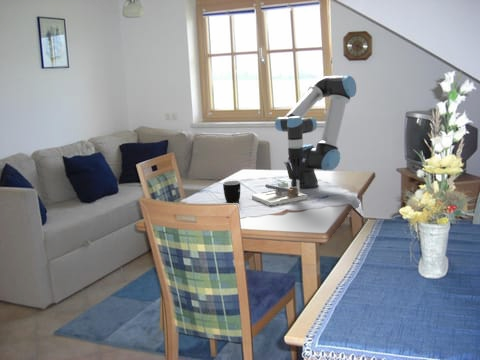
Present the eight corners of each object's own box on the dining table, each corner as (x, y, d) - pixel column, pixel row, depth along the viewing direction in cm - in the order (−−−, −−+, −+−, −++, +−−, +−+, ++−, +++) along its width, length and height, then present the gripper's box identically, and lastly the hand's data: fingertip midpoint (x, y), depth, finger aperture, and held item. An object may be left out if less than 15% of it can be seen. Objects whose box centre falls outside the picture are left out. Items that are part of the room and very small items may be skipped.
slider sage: (284, 188, 306) (283, 180, 305) (288, 190, 302) (288, 181, 301) (278, 190, 304) (277, 181, 303) (282, 191, 300) (281, 183, 299)
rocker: (287, 190, 299) (287, 187, 299) (290, 192, 296) (291, 188, 295) (265, 187, 292) (265, 183, 292) (268, 188, 289) (269, 184, 288)
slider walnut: (293, 194, 292) (293, 186, 291) (297, 196, 289) (297, 187, 288) (287, 196, 290) (286, 187, 289) (291, 197, 287) (291, 188, 286)
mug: (241, 203, 290) (240, 184, 288) (223, 204, 290) (222, 185, 288) (241, 197, 301) (240, 179, 299) (224, 198, 302) (223, 180, 299)
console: (287, 191, 308) (286, 184, 307) (307, 198, 291) (307, 190, 290) (252, 198, 298) (251, 190, 297) (271, 206, 281) (270, 198, 280)
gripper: (301, 144, 291) (303, 188, 297) (280, 147, 285) (282, 192, 291) (310, 146, 285) (311, 191, 290) (288, 149, 279) (290, 195, 284)
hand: (296, 192), depth 290 cm, fingers closed
